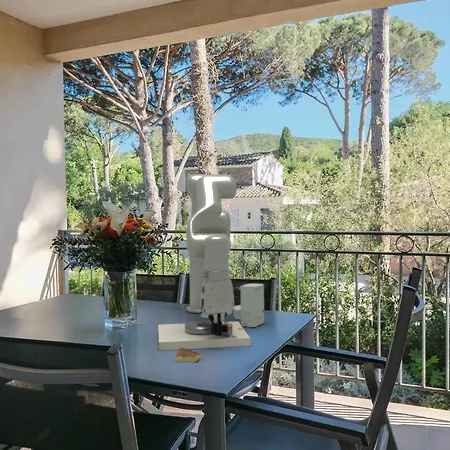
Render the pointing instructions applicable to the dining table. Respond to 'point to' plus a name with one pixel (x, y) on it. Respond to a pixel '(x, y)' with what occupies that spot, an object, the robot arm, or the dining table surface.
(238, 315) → the ramekin
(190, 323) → the dial
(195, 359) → the shard
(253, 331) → the dining table surface
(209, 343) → the board
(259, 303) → the skincare box
